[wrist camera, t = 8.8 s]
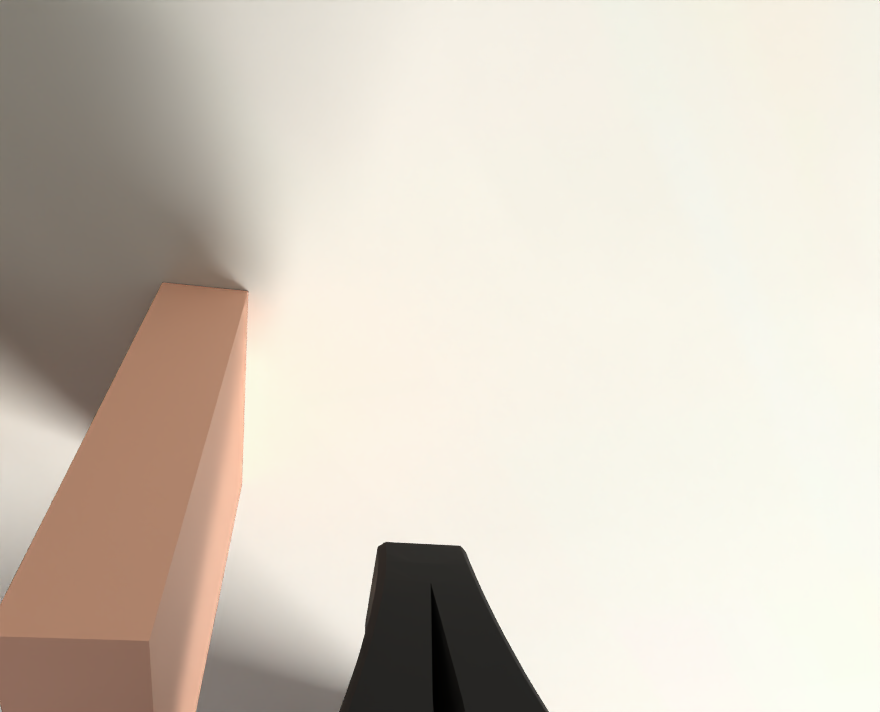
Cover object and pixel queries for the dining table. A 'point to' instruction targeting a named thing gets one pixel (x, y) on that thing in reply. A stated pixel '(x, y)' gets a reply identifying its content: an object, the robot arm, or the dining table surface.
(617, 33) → the dining table surface
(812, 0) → the dining table surface
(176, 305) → the salmon pink rectangular block
